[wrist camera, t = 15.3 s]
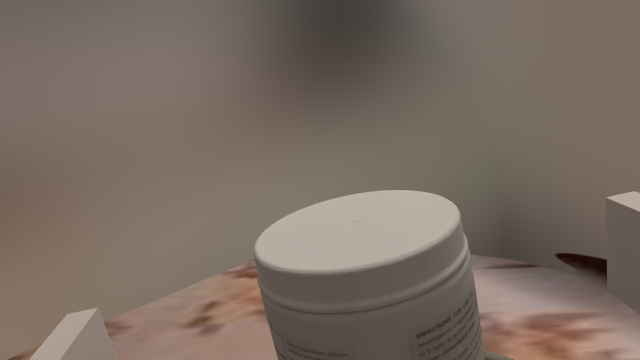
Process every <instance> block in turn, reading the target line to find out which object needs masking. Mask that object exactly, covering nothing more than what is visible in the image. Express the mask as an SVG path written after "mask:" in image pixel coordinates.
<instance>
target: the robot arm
mask: <svg viewBox="0 0 640 360" xmlns="http://www.w3.org/2000/svg"><path fill="white" fill-rule="evenodd" d="M606 224H607V225H606V226H607V279H608V292H609V293H610V294H612V295H613V296H615V297H616V298H618V299H619V300H620V301H622V302H623V303H625V304H626V305H628V306H629V307H630V308H632V309H633V310H635V311H636V312H638V313H639V314H640V193H637V192H635V191H634V192H629V193H624V194H620V195H615V196H610V197H606ZM29 360H117V357H116V354H115V352H114V349H113V346H112V344H111V341H110V338H109V336H108V333H107V330H106V328H105V325H104V322H103V320H102V317H101V314H100V312H99V309H98V308H94V309H90V310H85V311H81V312H76V313H72V314H67V315H66V316H65V318H64V319H63V320H62V321H61V323H60V324H59V325H58V326H57V327H56V329H55V330H54V331H53V332H52V333H51V335H50V336H49V337H48V338H47V339H46V340H45V342H44V343H43V344H42V345H41V346H40V347H39V349H38V350H37V351H36V352H35V353H34V355H33V356H32V357H31V358H30V359H29Z"/></svg>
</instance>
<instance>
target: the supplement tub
mask: <svg viewBox="0 0 640 360" xmlns="http://www.w3.org/2000/svg"><path fill="white" fill-rule="evenodd" d="M254 256H255V262H256V266H257V269H258V284H259V287H260V291H261V296H262V300H263V304H264V307H265V311H266V315H267V319H268V323H269V327H270V330H271V334H272V338H273V341H274V345H275V349H276V353H277V356H278V360H485V354H484V347H483V340H482V333H481V326H480V319H479V312H478V304H477V297H476V290H475V283H474V276H473V271H472V265H471V257H470V252H469V249H468V242H467V238H466V236H465V234H464V233H463V227H462V221H461V216H460V212H459V210H458V208H457V207H456V206H455V205H454V204H453V203H452V202H451V201H449V200H448V199H446V198H444V197H441V196H438V195H435V194H431V193H427V192H420V191H408V190H386V191H374V192H367V193H360V194H354V195H348V196H344V197H340V198H335V199H331V200H327V201H324V202H321V203H317V204H314V205H312V206H309V207H306V208H303V209H301V210H298V211H296V212H294V213H292V214H289V215H288V216H286V217H284V218H282V219H280V220H279V221H277V222H276V223H274V224H273V225H271V226H270V227H269V228H267V229H266V230H265V231H264V232H263V233H262V234H261V235H260V237H259V238H258V240H257V241H256V243H255V246H254Z"/></svg>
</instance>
